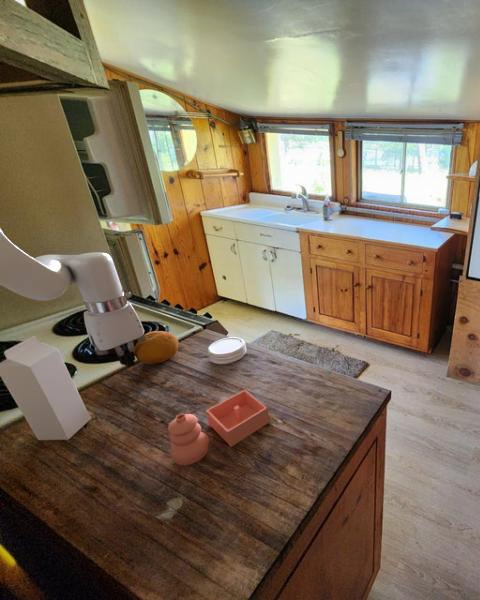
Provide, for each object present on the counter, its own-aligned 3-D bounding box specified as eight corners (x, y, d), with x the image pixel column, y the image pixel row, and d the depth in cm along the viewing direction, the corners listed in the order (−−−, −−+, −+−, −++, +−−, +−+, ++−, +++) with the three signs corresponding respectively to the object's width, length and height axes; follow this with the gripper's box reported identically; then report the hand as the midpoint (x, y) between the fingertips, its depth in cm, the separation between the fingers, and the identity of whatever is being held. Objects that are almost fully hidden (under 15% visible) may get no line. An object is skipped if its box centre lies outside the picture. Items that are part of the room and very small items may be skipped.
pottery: (247, 402, 80) (241, 370, 75) (269, 421, 75) (264, 388, 70) (164, 450, 66) (151, 414, 62) (184, 477, 61) (171, 439, 57)
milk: (91, 418, 73) (52, 334, 64) (68, 440, 68) (21, 352, 58) (62, 419, 73) (19, 334, 64) (36, 440, 67) (-15, 351, 58)
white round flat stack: (253, 353, 99) (252, 343, 97) (222, 369, 91) (220, 359, 89) (234, 342, 103) (232, 333, 102) (202, 357, 96) (200, 347, 94)
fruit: (129, 363, 92) (120, 339, 88) (166, 345, 101) (159, 322, 97) (152, 373, 88) (143, 349, 85) (189, 354, 97) (183, 331, 93)
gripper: (133, 290, 87) (152, 347, 95) (59, 310, 75) (88, 374, 83) (148, 296, 84) (166, 355, 92) (73, 319, 72) (101, 384, 80)
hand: (129, 364), depth 87 cm, fingers closed
